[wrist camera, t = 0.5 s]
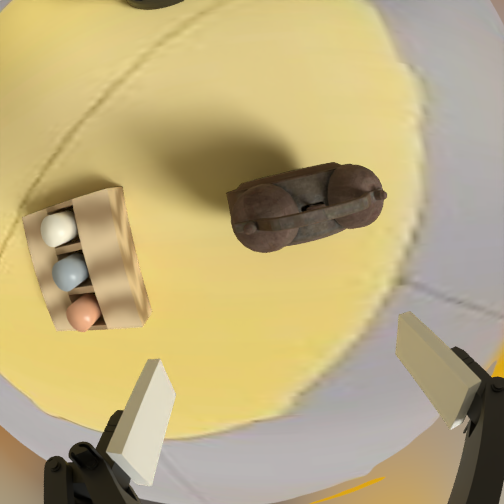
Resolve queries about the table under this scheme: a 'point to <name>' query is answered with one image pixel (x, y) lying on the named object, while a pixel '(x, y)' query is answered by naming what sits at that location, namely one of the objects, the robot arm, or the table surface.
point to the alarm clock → (304, 205)
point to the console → (93, 261)
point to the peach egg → (83, 312)
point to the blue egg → (70, 272)
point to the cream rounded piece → (59, 228)
